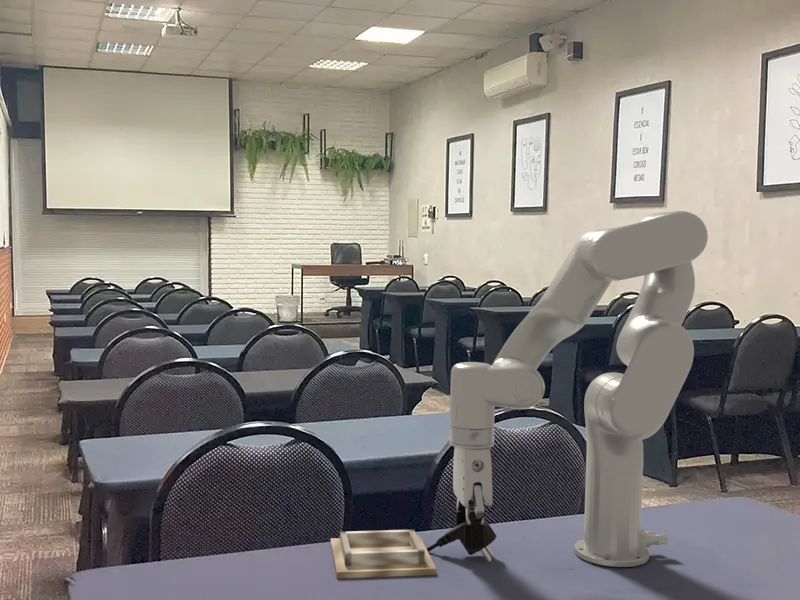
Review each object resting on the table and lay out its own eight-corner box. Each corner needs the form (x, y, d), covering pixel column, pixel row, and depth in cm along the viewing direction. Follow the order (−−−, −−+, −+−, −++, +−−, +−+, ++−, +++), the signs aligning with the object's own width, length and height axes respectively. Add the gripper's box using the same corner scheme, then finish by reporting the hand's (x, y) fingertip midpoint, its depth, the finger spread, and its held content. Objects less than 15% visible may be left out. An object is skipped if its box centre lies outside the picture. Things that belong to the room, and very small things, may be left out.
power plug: (427, 541, 150) (483, 507, 147) (451, 578, 149) (507, 545, 146) (419, 552, 144) (477, 517, 141) (444, 590, 143) (503, 556, 140)
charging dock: (419, 541, 152) (420, 524, 152) (436, 574, 136) (436, 556, 136) (330, 544, 150) (330, 527, 150) (336, 578, 134) (337, 559, 134)
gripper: (506, 447, 135) (503, 558, 136) (481, 425, 152) (478, 524, 153) (460, 447, 134) (458, 560, 135) (440, 425, 151) (437, 525, 152)
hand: (469, 539), depth 144 cm, fingers closed on power plug, 5 cm apart
